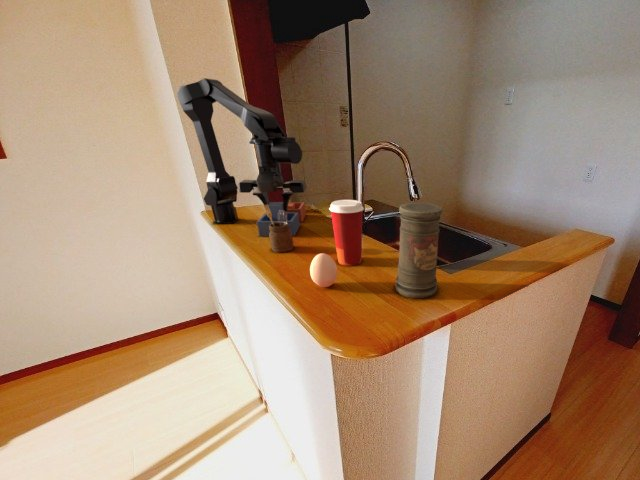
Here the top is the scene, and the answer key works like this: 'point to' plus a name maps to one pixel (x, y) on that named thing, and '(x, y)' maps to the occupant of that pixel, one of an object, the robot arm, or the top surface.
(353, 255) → the coffee cup
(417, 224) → the container
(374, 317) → the top surface
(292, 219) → the blue bin
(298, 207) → the terracotta bin
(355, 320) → the top surface
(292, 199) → the cork
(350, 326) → the top surface
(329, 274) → the egg
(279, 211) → the slate block
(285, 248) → the utensil holder
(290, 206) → the terracotta block
